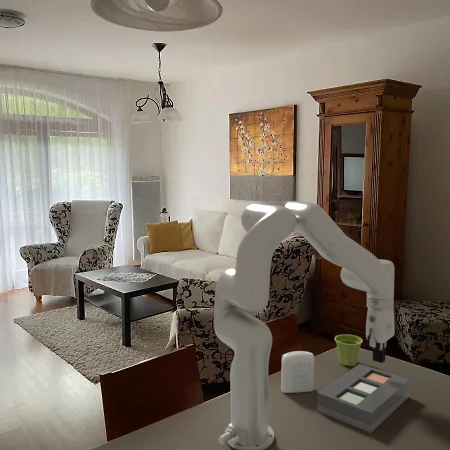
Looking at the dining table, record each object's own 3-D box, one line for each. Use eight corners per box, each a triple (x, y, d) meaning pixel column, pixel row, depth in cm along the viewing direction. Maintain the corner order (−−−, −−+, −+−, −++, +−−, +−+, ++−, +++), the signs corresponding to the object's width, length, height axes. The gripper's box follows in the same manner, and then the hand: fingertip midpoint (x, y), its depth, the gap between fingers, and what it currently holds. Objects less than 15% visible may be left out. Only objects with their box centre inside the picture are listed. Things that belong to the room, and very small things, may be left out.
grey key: (369, 400, 129) (369, 395, 129) (351, 393, 133) (351, 388, 132) (377, 392, 133) (378, 387, 133) (360, 386, 136) (360, 382, 136)
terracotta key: (381, 389, 135) (381, 384, 134) (364, 383, 138) (364, 379, 138) (389, 383, 139) (389, 378, 138) (372, 377, 142) (372, 372, 142)
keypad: (370, 433, 119) (371, 413, 118) (317, 411, 129) (317, 392, 129) (408, 396, 137) (409, 379, 136) (358, 380, 148) (359, 363, 147)
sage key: (355, 411, 123) (355, 406, 123) (337, 404, 127) (337, 399, 127) (365, 403, 127) (365, 398, 127) (346, 396, 131) (347, 391, 130)
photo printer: (311, 385, 144) (311, 347, 143) (315, 392, 140) (316, 353, 139) (279, 388, 143) (279, 350, 141) (283, 394, 139) (283, 355, 137)
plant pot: (328, 360, 163) (329, 336, 162) (349, 355, 167) (350, 332, 166) (345, 370, 154) (346, 346, 153) (367, 365, 158) (368, 341, 157)
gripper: (381, 311, 127) (380, 373, 130) (402, 298, 138) (401, 356, 141) (356, 305, 132) (355, 365, 135) (379, 293, 143) (377, 349, 146)
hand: (378, 360), depth 138 cm, fingers closed
